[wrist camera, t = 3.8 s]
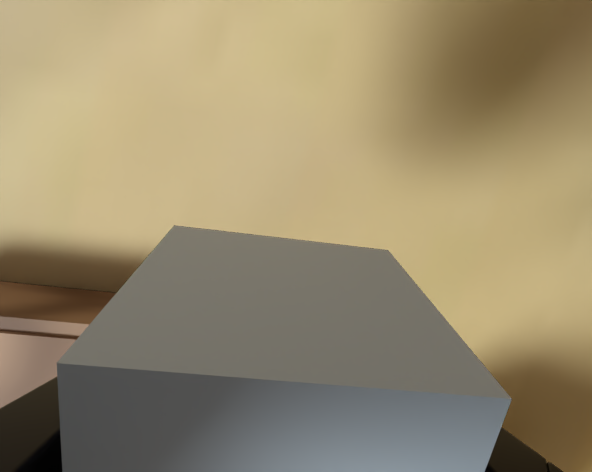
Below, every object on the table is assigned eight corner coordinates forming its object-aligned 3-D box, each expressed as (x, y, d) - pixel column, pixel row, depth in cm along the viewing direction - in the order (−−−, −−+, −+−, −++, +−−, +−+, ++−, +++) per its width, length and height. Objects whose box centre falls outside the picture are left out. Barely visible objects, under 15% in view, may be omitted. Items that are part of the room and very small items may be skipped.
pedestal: (154, 296, 19) (132, 330, 16) (149, 437, 22) (130, 488, 19) (-38, 277, 19) (-97, 309, 16) (-18, 426, 21) (-66, 478, 18)
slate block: (388, 250, 9) (511, 398, 4) (349, 418, 11) (412, 664, 6) (174, 225, 9) (57, 362, 4) (165, 405, 10) (72, 662, 5)
